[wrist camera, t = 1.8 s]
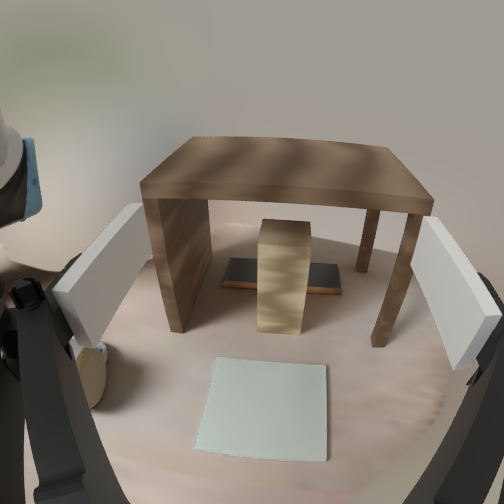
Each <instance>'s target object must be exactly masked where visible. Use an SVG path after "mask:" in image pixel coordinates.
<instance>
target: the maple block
mask: <svg viewBox="0 0 504 504" xmlns="http://www.w3.org/2000/svg"><path fill="white" fill-rule="evenodd" d="M311 250H312V242H311V227H310V222H306V221H291V220H275V219H263V220H262V225H261V230H260V235H259V240H258V270H257V332H264V333H277V334H292V335H300V332H301V326H302V319H303V312H304V305H305V298H306V290H307V283H308V275H309V267H310V259H311Z"/></svg>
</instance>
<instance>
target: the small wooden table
mask: <svg viewBox="0 0 504 504" xmlns="http://www.w3.org/2000/svg"><path fill="white" fill-rule="evenodd" d="M140 187H141V193H142V199H143V205H144V211H145V216H146V221H147V227H148V232H149V237H150V242H151V247H152V253H153V258H154V263H155V267H156V272H157V276H158V281H159V285H160V290H161V294H162V298H163V302H164V306H165V310H166V314H167V318H168V322H169V326H170V330H171V332H176V333H183V332H184V329H185V326H186V324H187V321H188V318H189V316H190V313H191V310H192V308H193V305H194V302H195V300H196V297H197V294H198V292H199V289H200V286H201V284H202V281H203V279H204V276H205V273H206V271H207V268H208V266H209V263H210V260H211V258H212V248H211V236H210V224H209V211H208V199H209V200H236V201H237V200H239V201H258V202H277V203H295V204H309V205H323V206H337V207H348V208H360V209H367V212H366V218H365V223H364V228H363V234H362V239H361V244H360V249H359V253H358V258H357V263H356V268H357V271H359V272H367V269H368V265H369V261H370V257H371V252H372V248H373V243H374V239H375V235H376V230H377V225H378V220H379V215H380V210H382V211H392V212H402V213H408V217H407V222H406V226H405V230H404V234H403V237H402V241H401V245H400V249H399V253H398V256H397V259H396V263H395V266H394V270H393V273H392V276H391V280H390V283H389V286H388V289H387V292H386V295H385V298H384V301H383V304H382V307H381V310H380V313H379V316H378V319H377V322H376V324H375V327H374V330H373V333H372V335H371V342H372V347H385V344H386V342H387V340H388V337H389V335H390V333H391V330H392V328H393V325H394V323H395V320H396V318H397V315H398V313H399V310H400V308H401V305H402V302H403V300H404V297H405V294H406V292H407V289H408V286H409V283H410V280H411V277H412V275H413V270H412V267H411V265H410V264H411V261H412V257H413V254H414V250H415V247H416V243H417V239H418V236H419V232H420V228H421V224H422V220H423V216H430V215H431V211H432V207H433V203H434V199H433V198H432V197H431V195H430V194H429V193H428V192H427V191H426V189H425V188H424V187H423V186H422V185H421V184H420V183H419V181H418V180H417V179H416V178H415V177H414V176H413V175H412V174H411V172H410V171H409V170H408V169H407V168H406V167H405V166H404V165H403V164H402V163H401V161H400V160H398V158H397V157H396V156H395V155H394V154H393V153H392V152H391V151H390V150H389V149H388V148H386V147H379V146H371V145H362V144H353V143H343V142H333V141H321V140H308V139H292V138H271V137H192V138H191V139H189V140H188V141H187V142H186V143H185V144H183V145H182V146H181V147H180V148H179V149H177V150H176V151H175V152H174V153H173V154H172V155H170V156H169V157H168V158H167V159H166V160H165V161H164V162H162V163H161V164H160V165H159V166H158V167H156V168H155V169H154V170H153V171H152V172H151V173H150V174H149V175H147V176H146V177H145V178H144V179H143V180H142V181H141V182H140ZM257 270H258V259H244V258H231V259H230V262H229V265H228V268H227V272H226V275H225V278H224V281H223V286H224V287H237V288H249V289H257ZM306 292H307V293H324V294H341V293H342V290H341V285H340V278H339V271H338V265H336V264H321V263H310V267H309V275H308V283H307V290H306Z"/></svg>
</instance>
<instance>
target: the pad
mask: <svg viewBox="0 0 504 504" xmlns="http://www.w3.org/2000/svg"><path fill="white" fill-rule="evenodd" d="M194 450H198V451H203V452H209V453H215V454H222V455H229V456H237V457H245V458H255V459H266V460H279V461H299V462H326V461H327V389H326V365H316V364H296V363H281V362H268V361H256V360H245V359H236V358H226V357H218V356H217V358H216V362H215V366H214V370H213V374H212V378H211V382H210V386H209V390H208V394H207V398H206V402H205V406H204V410H203V414H202V418H201V422H200V426H199V430H198V434H197V438H196V442H195V446H194Z"/></svg>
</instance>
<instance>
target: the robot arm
mask: <svg viewBox="0 0 504 504" xmlns="http://www.w3.org/2000/svg"><path fill="white" fill-rule="evenodd" d="M41 208H42V197H41V191H40V185H39V177H38V171H37V163H36V154H35V145H34V140H33V139H32V138H22V139H21V137H20V135H19V133H18V132H17V131H16V130H15V129H14V128H12V127H10V126H7V125H5V123H4V120H3V117H2V114H1V110H0V229H1V228H3V227H6V226H9V225H11V224H13V223H16V222H19V221H21V222H22V221H25V220H26V218H29V217H31V216H33V215H35V214H37V213H39V212H40V210H41ZM151 254H152V247H151V242H150V237H149V232H148V227H147V221H146V216H145V211H144V205H143V203H130V204H128V205H127V206H126V207H125V208H124V209H123V210H122V211H121V212H120V213H119V214H118V215H117V217H116V218H115V219H114V220H113V221H112V222H111V223H110V224H109V225H108V226H107V227H106V228H105V229H104V230H103V231H102V232H101V233H100V235H99V236H98V237H97V238H96V239H95V240H94V241H93V242H92V243H91V245H90V246H89V247H88V248H87V249H86V250H85V251H84V252H83V253H80V254H79V255H77V256H76V257H75V258H73V259H71V260H70V261H69V263H68V264H67V265H66V266H65V268H64V269H63V270H62V271H61V272H60V273H59V275H57V277H56V278H55V279H54V280H53V281H52V283H51V284H50V285H49V286H48V287H47V289H46V290H45V291H43V289H42V286H41V284H40V282H39V280H38V277H36V276H34V275H28V276H25V277H22V278H20V279H18V280H17V281H16V282H14V283H13V284H12V286H11V287H10V289H9V292H8V293H9V295H10V297H11V299H12V301H13V303H14V304H15V306H16V308H7V306H6V304H5V302H4V300H2V299H0V353H1V351H2V352H3V356H2V358H1V354H0V504H26V503H25V488H24V425H25V418H26V424H27V430H28V435H29V440H30V445H31V450H32V454H33V458H34V462H35V466H36V470H37V474H38V478H39V486H38V487H37V488H35V489H34V493H33V496H34V501H35V504H130V503H129V501H128V500H127V498H126V497H125V495H124V493H123V491H122V489H121V487H120V484H119V482H118V480H117V478H116V476H115V474H114V471H113V469H112V467H111V464H110V462H109V460H108V457H107V455H106V452H105V450H104V447H103V445H102V442H101V440H100V437H99V434H98V432H97V429H96V426H95V423H94V420H93V418H92V415H91V412H90V409H89V406H88V402H87V399H86V396H85V393H84V389H83V386H82V383H81V379H80V376H79V372H78V368H77V364H76V360H75V356H74V352H73V348H72V346H71V344H70V342H69V341H70V340H71V338H72V336H73V335H74V337H75V339H76V341H77V343H78V344H79V346H83V347H88V348H92V349H95V348H96V346H97V344H98V342H99V340H100V339H101V337H102V335H103V333H104V331H105V330H106V328H107V326H108V324H109V323H110V321H111V319H112V317H113V316H114V314H115V312H116V311H117V309H118V307H119V305H120V304H121V302H122V300H123V299H124V297H125V295H126V294H127V292H128V290H129V289H130V287H131V286H132V284H133V282H134V281H135V279H136V277H137V276H138V274H139V273H140V271H141V269H142V268H143V266H144V265H145V263H146V261H147V260H148V258H149V257H150V255H151ZM410 265H411V267H412V270H413V272H414V274H415V276H416V278H417V281H418V283H419V285H420V287H421V290H422V292H423V294H424V296H425V299H426V301H427V303H428V306H429V308H430V311H431V313H432V316H433V318H434V321H435V323H436V326H437V328H438V331H439V333H440V336H441V339H442V341H443V344H444V347H445V350H446V352H447V355H448V358H449V361H450V364H451V367H452V370H453V371H457V370H465V369H469V368H470V367H471V365H472V364H473V362H474V361H475V359H477V361H478V364H479V367H478V369H477V370H476V372H475V373H474V374H473V376H472V377H471V378H470V380H469V381H468V382H467V384H466V385H469V384H470V386H469V388H468V390H467V393H466V395H465V397H464V399H463V401H462V404H461V406H460V408H459V410H458V412H457V414H456V416H455V418H454V420H453V422H452V424H451V426H450V428H449V430H448V432H447V434H446V435H445V437H444V439H443V441H442V443H441V445H440V446H439V448H438V450H437V452H436V453H435V455H434V457H433V458H432V460H431V462H430V463H429V465H428V467H427V468H426V470H425V471H424V473H423V475H422V476H421V478H420V479H419V481H418V482H417V484H416V485H415V486H414V488H413V489H412V491H411V492H410V494H409V495H408V497H407V498H406V499H405V501H404V502H403V504H483V502H484V500H485V498H486V496H487V494H488V492H489V490H490V488H491V486H492V483H493V481H494V479H495V476H496V474H497V472H498V469H499V467H500V464H501V462H502V459H503V456H504V304H503V302H502V301H501V299H500V298H499V297H498V294H497V293H496V291H495V290H494V288H493V286H492V285H491V283H490V282H489V280H488V279H487V278H486V277H484V276H483V275H482V274H481V273H477V272H476V271H475V269H474V268H473V266H472V265H471V263H470V262H469V260H468V259H467V257H466V256H465V255H464V253H463V252H462V250H461V249H460V247H459V246H458V244H457V243H456V242H455V240H454V239H453V238H452V236H451V235H450V233H449V232H448V231H447V230H446V228H445V227H444V225H443V224H442V223H441V222H440V220H439V219H438V218H437V217H430V216H423V220H422V224H421V228H420V232H419V236H418V239H417V243H416V247H415V250H414V254H413V257H412V261H411V264H410ZM2 292H3V282H2V279H1V277H0V297H1V295H2ZM498 504H504V480H503V484H502V489H501V493H500V498H499V502H498Z"/></svg>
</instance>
